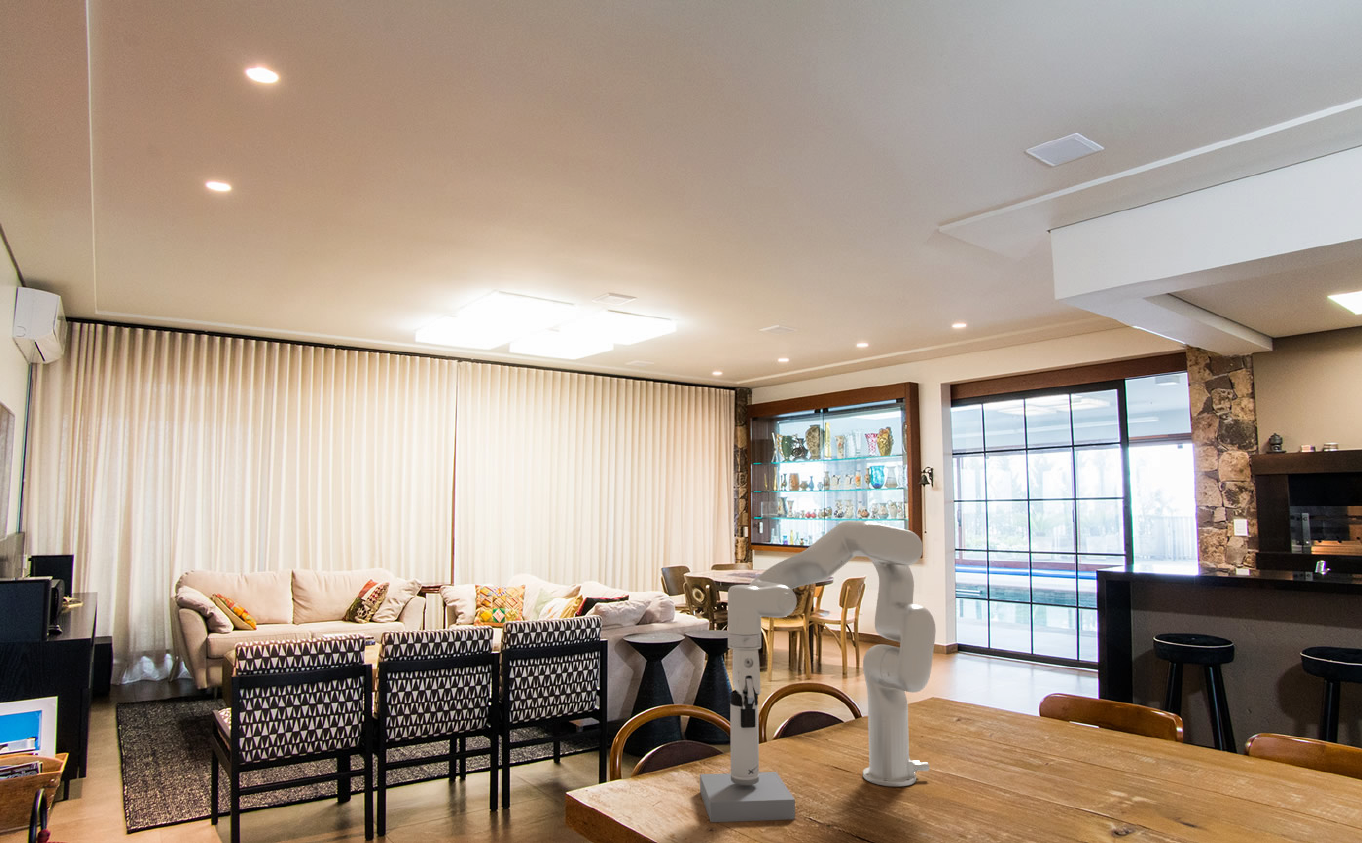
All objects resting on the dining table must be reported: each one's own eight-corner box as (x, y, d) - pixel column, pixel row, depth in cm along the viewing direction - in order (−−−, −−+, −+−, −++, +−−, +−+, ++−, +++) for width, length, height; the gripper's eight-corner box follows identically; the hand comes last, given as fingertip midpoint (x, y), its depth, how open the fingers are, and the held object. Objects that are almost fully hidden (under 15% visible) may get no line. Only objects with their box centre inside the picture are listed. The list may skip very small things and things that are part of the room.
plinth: (776, 789, 189) (776, 771, 189) (795, 818, 171) (794, 799, 172) (700, 791, 187) (700, 774, 188) (710, 822, 169) (710, 802, 170)
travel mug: (758, 786, 176) (758, 691, 178) (728, 784, 177) (728, 690, 179) (761, 776, 182) (761, 685, 184) (732, 774, 184) (732, 684, 186)
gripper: (768, 647, 175) (769, 733, 173) (753, 634, 192) (754, 712, 190) (734, 647, 174) (735, 734, 172) (722, 635, 191) (722, 713, 189)
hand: (745, 722), depth 181 cm, fingers closed on travel mug, 6 cm apart
